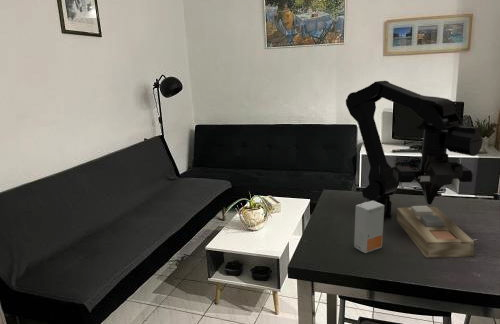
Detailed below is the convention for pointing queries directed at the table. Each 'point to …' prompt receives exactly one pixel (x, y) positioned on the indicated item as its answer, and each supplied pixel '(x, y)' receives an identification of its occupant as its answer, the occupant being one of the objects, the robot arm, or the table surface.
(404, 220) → the wooden slotted tray
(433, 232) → the terracotta key
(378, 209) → the skincare box
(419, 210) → the offwhite key
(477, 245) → the table surface
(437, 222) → the grey key
